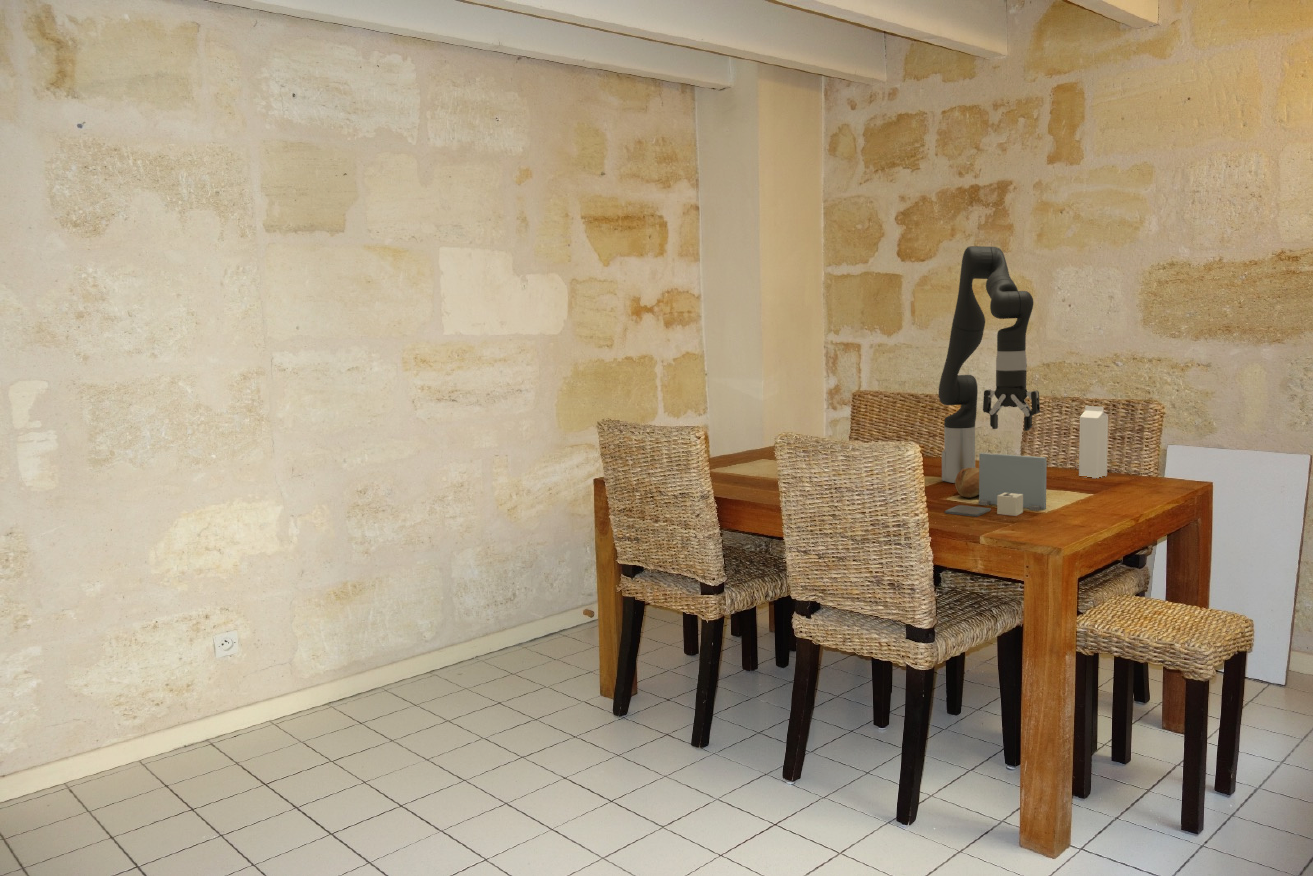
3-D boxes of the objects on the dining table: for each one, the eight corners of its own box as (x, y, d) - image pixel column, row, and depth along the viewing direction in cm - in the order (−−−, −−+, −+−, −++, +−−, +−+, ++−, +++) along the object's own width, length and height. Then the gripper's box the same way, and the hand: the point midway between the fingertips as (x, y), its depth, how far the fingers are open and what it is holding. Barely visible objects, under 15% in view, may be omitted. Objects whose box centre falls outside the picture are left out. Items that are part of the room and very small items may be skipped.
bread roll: (948, 498, 286) (948, 471, 285) (964, 489, 299) (964, 463, 297) (982, 501, 281) (982, 473, 280) (997, 491, 293) (997, 465, 292)
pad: (944, 513, 268) (944, 510, 268) (959, 507, 274) (958, 504, 274) (977, 516, 262) (977, 514, 262) (990, 510, 269) (990, 508, 268)
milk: (1096, 479, 306) (1098, 407, 302) (1078, 476, 310) (1079, 406, 307) (1107, 476, 309) (1108, 405, 306) (1088, 473, 314) (1090, 404, 311)
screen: (975, 504, 277) (975, 454, 275) (984, 500, 281) (984, 451, 279) (1040, 511, 265) (1041, 459, 263) (1048, 507, 270) (1049, 456, 268)
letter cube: (997, 514, 264) (997, 495, 264) (1004, 510, 268) (1004, 492, 267) (1015, 516, 261) (1016, 497, 260) (1022, 512, 265) (1023, 493, 264)
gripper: (978, 369, 261) (978, 430, 263) (1033, 369, 252) (1032, 432, 254) (990, 366, 267) (990, 426, 269) (1043, 367, 258) (1043, 429, 260)
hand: (1010, 429), depth 262 cm, fingers open, 8 cm apart
